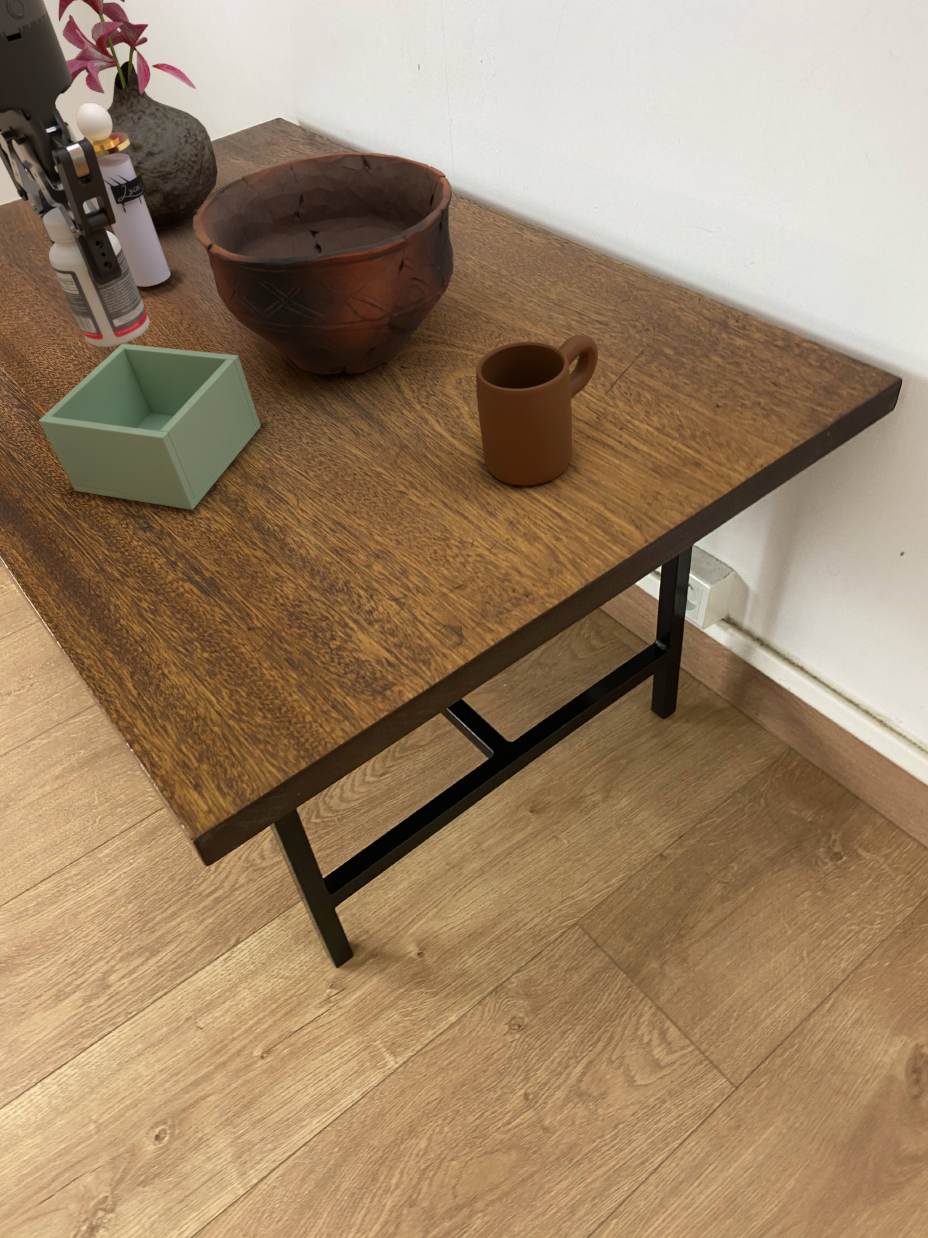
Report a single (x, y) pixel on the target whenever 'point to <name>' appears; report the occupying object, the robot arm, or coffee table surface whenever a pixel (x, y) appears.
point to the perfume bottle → (124, 197)
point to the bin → (153, 424)
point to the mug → (531, 406)
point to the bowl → (331, 255)
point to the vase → (146, 118)
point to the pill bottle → (95, 289)
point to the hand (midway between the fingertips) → (91, 268)
